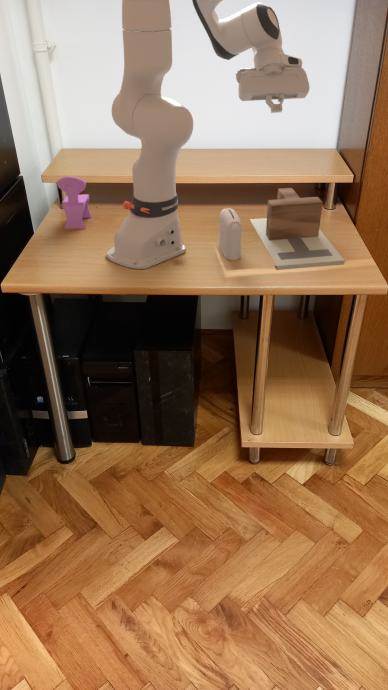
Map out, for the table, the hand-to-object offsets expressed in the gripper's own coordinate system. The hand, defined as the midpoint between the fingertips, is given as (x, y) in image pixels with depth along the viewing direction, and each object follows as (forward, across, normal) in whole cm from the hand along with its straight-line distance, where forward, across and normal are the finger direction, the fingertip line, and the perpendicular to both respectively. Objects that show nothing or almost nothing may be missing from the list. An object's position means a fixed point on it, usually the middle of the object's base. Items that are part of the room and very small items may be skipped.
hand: (276, 111), depth 164 cm
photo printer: (+42, -19, -1) cm, 46 cm away
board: (+38, 0, +2) cm, 38 cm away
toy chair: (+21, -60, +20) cm, 66 cm away
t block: (+33, 0, +6) cm, 34 cm away
